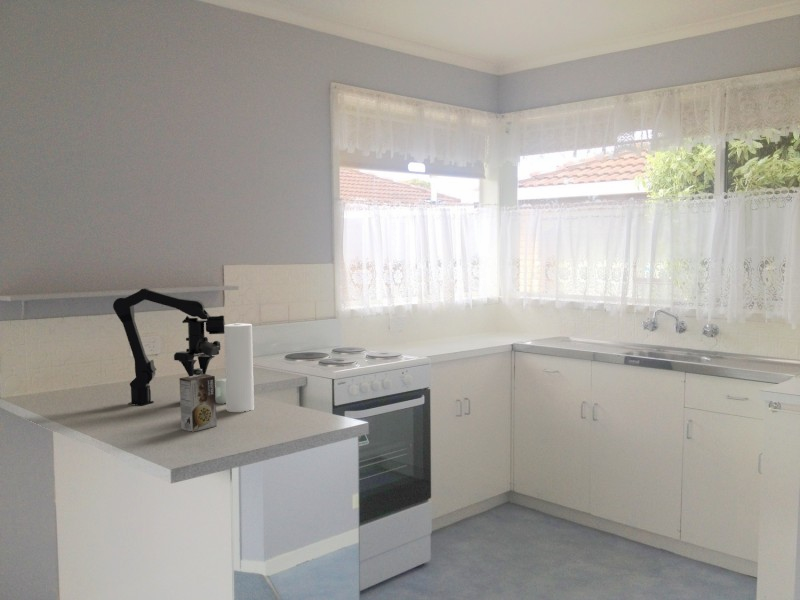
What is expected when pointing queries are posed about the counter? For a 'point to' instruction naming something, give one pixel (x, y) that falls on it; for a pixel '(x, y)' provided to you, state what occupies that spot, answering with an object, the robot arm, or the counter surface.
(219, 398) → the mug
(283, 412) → the counter surface
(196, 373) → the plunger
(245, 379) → the paper towel roll
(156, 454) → the counter surface
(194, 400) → the cookie box
